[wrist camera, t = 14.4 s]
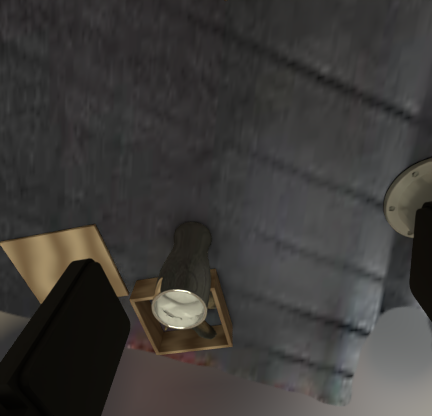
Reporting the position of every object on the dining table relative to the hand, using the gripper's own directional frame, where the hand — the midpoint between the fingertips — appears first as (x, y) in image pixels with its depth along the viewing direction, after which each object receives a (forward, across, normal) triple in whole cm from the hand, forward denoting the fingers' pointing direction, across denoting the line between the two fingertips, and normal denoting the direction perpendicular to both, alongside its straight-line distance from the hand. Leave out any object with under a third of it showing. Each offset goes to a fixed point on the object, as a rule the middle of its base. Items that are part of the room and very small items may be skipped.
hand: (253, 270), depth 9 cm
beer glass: (+34, +11, +20) cm, 41 cm away
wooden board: (+33, +34, +22) cm, 52 cm away
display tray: (+33, +16, +34) cm, 50 cm away
